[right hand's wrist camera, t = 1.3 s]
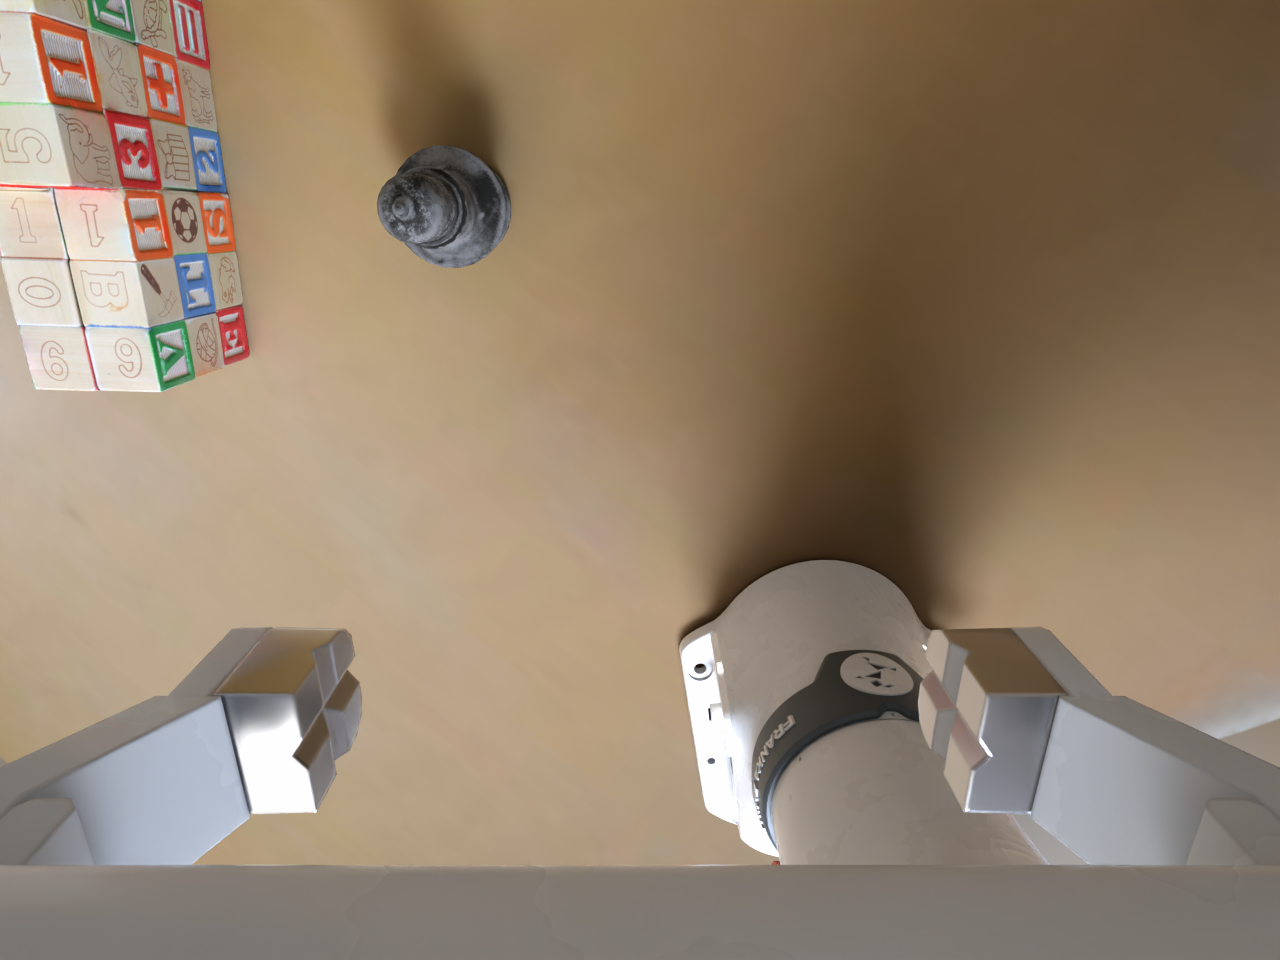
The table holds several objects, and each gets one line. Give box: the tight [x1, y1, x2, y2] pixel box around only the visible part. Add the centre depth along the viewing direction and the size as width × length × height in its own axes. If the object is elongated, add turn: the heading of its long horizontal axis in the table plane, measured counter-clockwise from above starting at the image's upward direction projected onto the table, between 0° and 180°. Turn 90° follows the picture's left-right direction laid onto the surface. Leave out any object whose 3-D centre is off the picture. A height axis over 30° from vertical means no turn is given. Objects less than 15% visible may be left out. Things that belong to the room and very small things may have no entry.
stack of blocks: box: [0, 0, 250, 392], centre depth 35 cm, size 21×6×12 cm, turn 178°
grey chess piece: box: [377, 145, 511, 268], centre depth 35 cm, size 6×6×12 cm
